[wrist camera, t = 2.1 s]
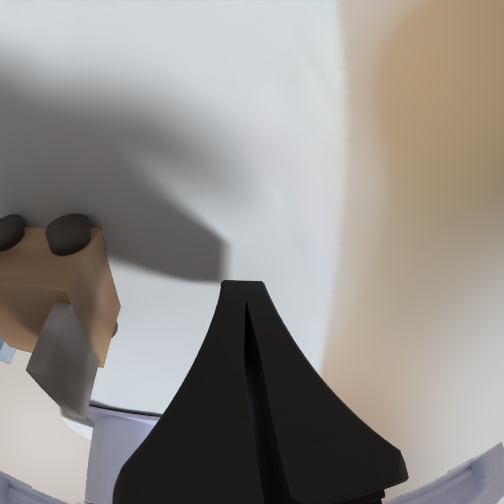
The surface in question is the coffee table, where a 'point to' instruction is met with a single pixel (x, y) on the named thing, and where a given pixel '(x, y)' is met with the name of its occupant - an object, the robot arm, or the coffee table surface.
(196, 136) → the coffee table surface
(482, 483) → the robot arm
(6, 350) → the bay
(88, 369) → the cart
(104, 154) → the coffee table surface
